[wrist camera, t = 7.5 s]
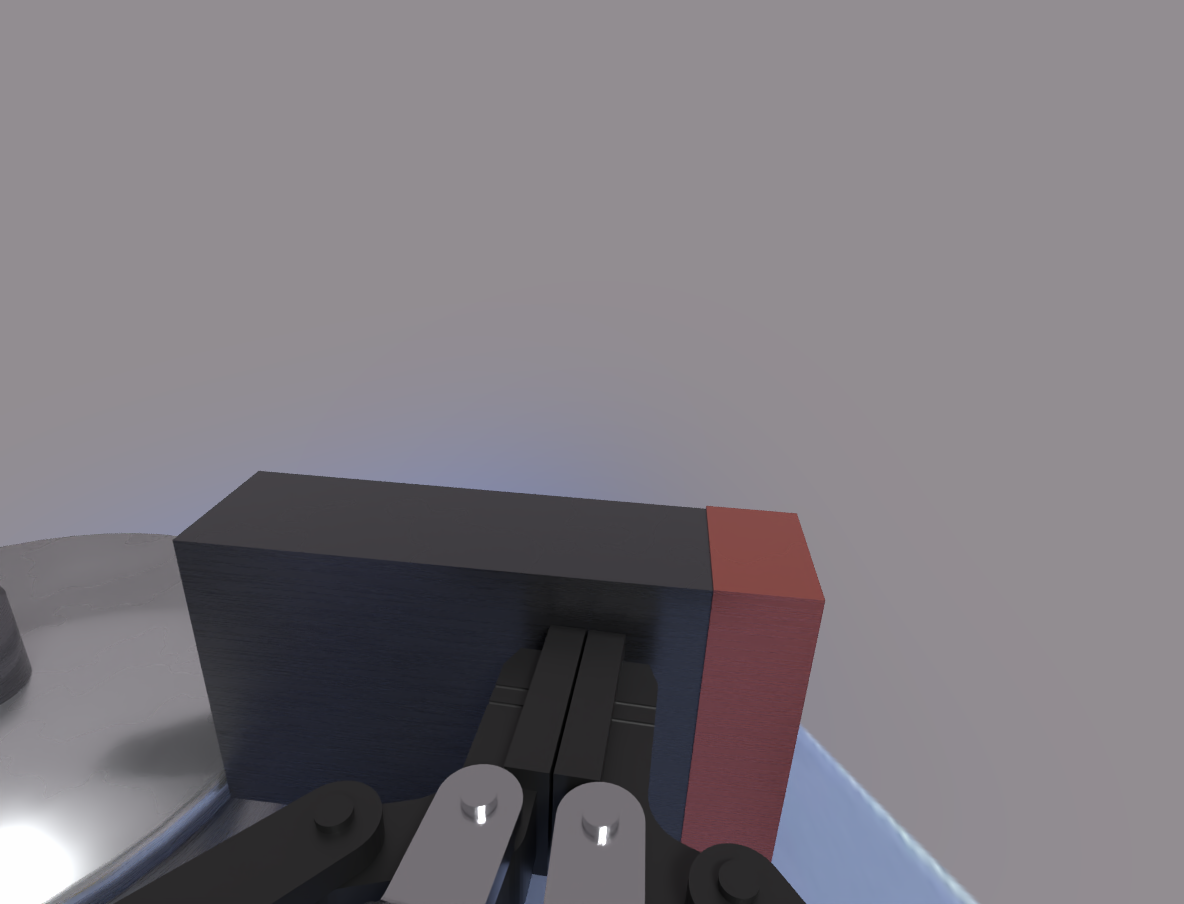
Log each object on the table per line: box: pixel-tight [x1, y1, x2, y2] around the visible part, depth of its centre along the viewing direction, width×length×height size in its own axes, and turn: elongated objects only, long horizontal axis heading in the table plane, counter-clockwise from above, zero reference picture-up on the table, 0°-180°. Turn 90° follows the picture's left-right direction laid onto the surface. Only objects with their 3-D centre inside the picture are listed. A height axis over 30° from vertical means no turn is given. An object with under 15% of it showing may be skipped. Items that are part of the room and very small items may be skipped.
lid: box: [0, 471, 825, 904], centre depth 17 cm, size 33×16×7 cm, turn 84°
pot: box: [105, 797, 287, 904], centre depth 23 cm, size 27×23×10 cm
